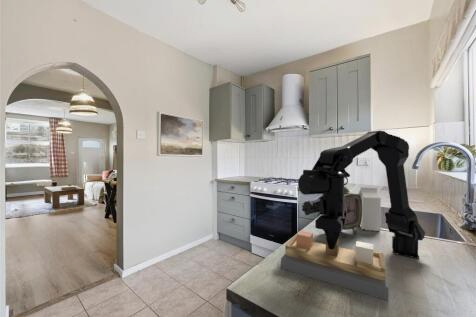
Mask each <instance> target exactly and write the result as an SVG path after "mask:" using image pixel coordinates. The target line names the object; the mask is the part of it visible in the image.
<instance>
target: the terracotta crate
mask: <svg viewBox="0 0 476 317" xmlns="http://www.w3.org/2000/svg"><path fill="white" fill-rule="evenodd" d="M296 235H297V241H296V247H299V248H303V249H307V250H310V249H311V248H312V246H313V242H314V233H313V232H311V231H310V232H309V231H304V230H299V231H298V232H296Z"/></svg>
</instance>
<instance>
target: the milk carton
mask: <svg viewBox="0 0 476 317" xmlns="http://www.w3.org/2000/svg"><path fill="white" fill-rule="evenodd" d="M357 194H358V195H360V196H361V199H362V219H361V224H360V225H361V226H360V227H361V228H360V227H359V228H360V229H361V230H363V229H365V230H364V231H372V230H373V232H374V231H375V232H380V231H381V214H382V213H381V212H382V211H381V210H382V208H381V205H382V204H381V203H382V201H381V200H382V199H381V195H380V193H379V190H378V187H363V186H361V187H360V190H359V192H358V193H357Z"/></svg>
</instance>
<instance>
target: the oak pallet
mask: <svg viewBox="0 0 476 317" xmlns="http://www.w3.org/2000/svg"><path fill="white" fill-rule="evenodd" d="M296 241H297V234H295V235H294V236H292V238H290V240H289V241H288V242H287V243H286V244H285V246H284V248H285V249H284V250H285V251H284V253H286V255H287V256H291V257H295V258H298V259H302V260H306V261H310V262H314V263H318V264H322V265H325V266H329V267H333V268H337V269H341V270H345V271H349V272H352V273H356V274H360V275H364V276H368V277H372V278H376V279H379V280H383V281H385V277H386V274H387V268H386V262H385V255H384V252H380V251H375V250H373V265H372V264H368V263H363V262H359V261H355V260H356V250H353V249H349V248H344V247H340V238H338V240H337V242H336V244H335V247H334V249H329V246H328V242H327V238H326V237H325V243H322V242H321V243H320V242H316V241H313V246H312V248H311V249H310V250H307V249H303V248H299V247H296Z"/></svg>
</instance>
